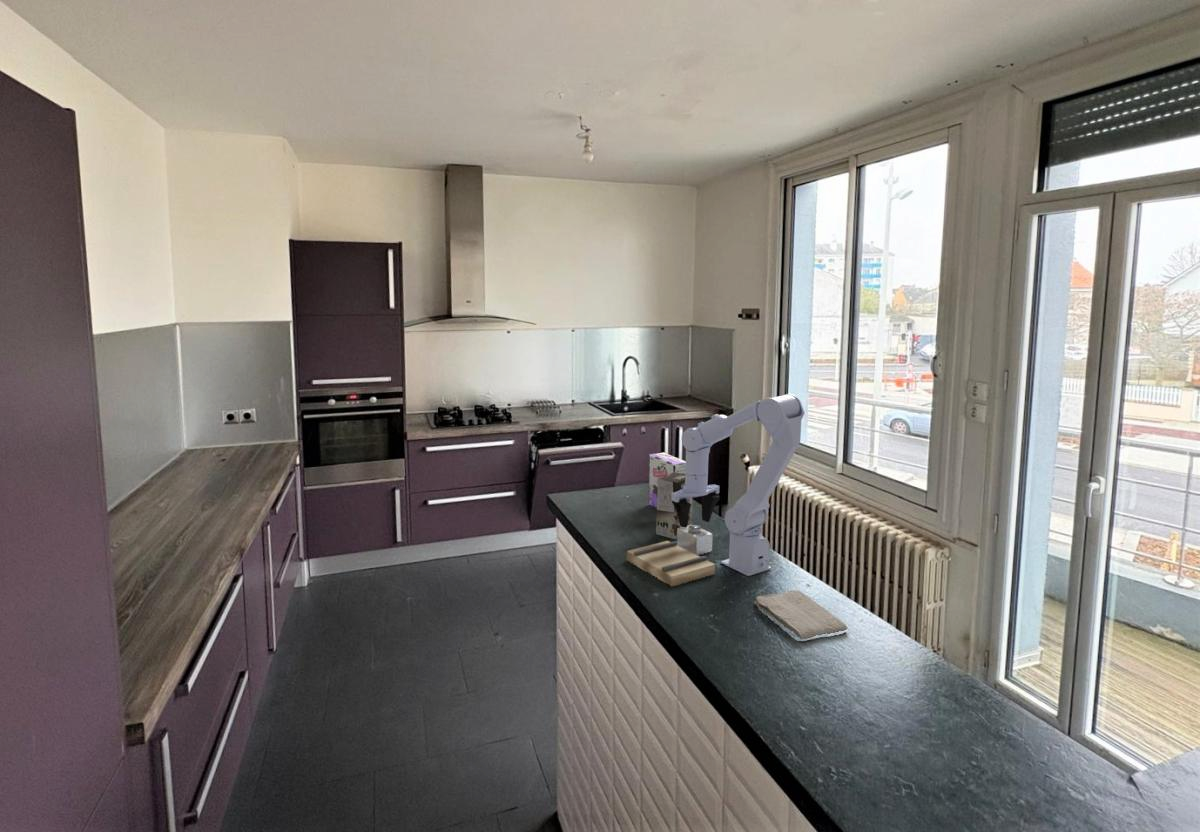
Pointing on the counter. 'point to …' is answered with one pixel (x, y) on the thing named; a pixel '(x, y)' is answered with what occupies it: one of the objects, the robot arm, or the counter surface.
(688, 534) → the block
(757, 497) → the robot arm
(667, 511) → the coffee box
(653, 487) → the candy box
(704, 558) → the stand
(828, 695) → the counter surface
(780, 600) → the washcloth
